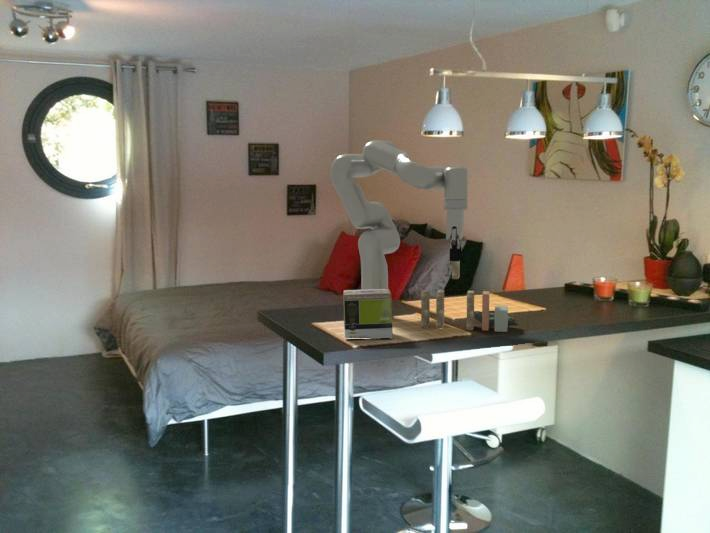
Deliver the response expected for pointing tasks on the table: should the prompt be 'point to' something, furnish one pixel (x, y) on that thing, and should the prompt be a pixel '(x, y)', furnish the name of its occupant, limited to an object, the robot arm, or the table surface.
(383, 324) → the tea box
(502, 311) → the block
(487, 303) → the domino
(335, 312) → the table surface
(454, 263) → the domino
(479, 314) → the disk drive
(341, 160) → the robot arm
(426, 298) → the domino
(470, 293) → the domino
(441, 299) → the domino
